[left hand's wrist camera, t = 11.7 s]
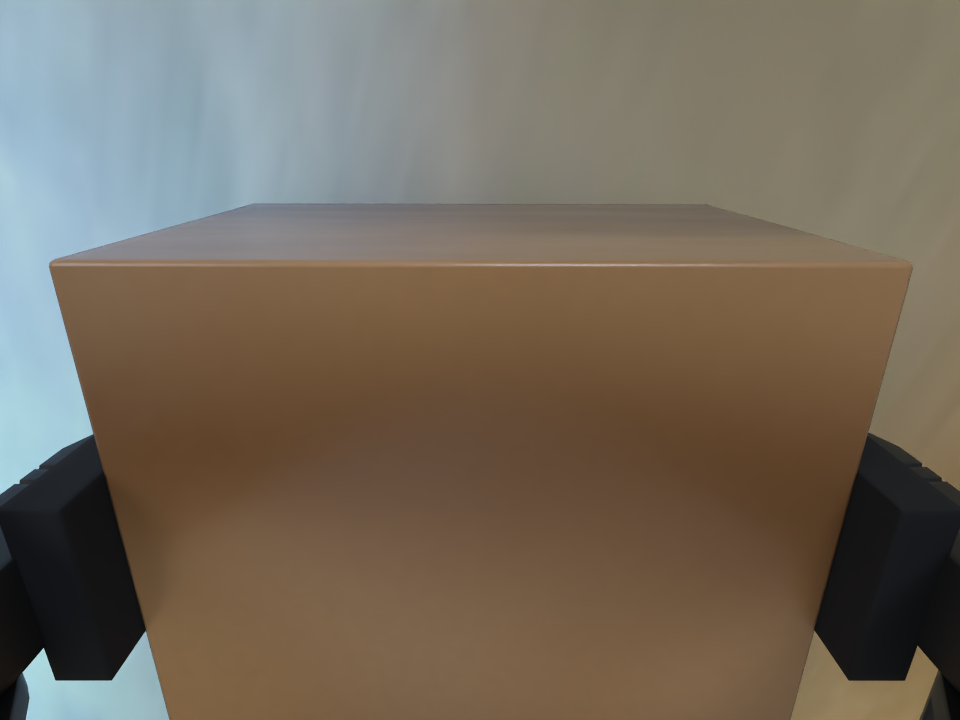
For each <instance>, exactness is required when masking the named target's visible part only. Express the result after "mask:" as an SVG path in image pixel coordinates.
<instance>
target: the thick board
mask: <svg viewBox="0 0 960 720" xmlns="http://www.w3.org/2000/svg"><path fill="white" fill-rule="evenodd" d="M49 268H50V272H51V276H52V279H53V283H54V287H55V291H56V295H57V298H58V302H59V306H60V310H61V313H62V317H63V321H64V325H65V328H66V332H67V336H68V340H69V343H70V347H71V351H72V355H73V358H74V362H75V366H76V370H77V373H78V377H79V381H80V385H81V388H82V392H83V396H84V400H85V404H86V407H87V411H88V415H89V419H90V422H91V426H92V430H93V434H94V437H95V441H96V445H97V449H98V452H99V456H100V460H101V464H102V467H103V471H104V475H105V479H106V482H107V486H108V490H109V494H110V497H111V501H112V505H113V509H114V513H115V516H116V520H117V524H118V528H119V531H120V535H121V539H122V543H123V546H124V550H125V554H126V558H127V561H128V565H129V569H130V573H131V576H132V580H133V584H134V588H135V591H136V595H137V599H138V603H139V606H140V610H141V614H142V618H143V622H144V625H145V629H146V633H147V637H148V640H149V644H150V648H151V652H152V655H153V659H154V663H155V667H156V670H157V674H158V678H159V682H160V685H161V689H162V693H163V697H164V700H165V704H166V708H167V712H168V715H169V719H170V720H790V718H791V715H792V711H793V707H794V703H795V700H796V696H797V692H798V689H799V685H800V681H801V678H802V674H803V670H804V667H805V663H806V659H807V656H808V652H809V648H810V645H811V641H812V637H813V634H814V630H815V626H816V623H817V619H818V615H819V611H820V608H821V604H822V600H823V597H824V593H825V589H826V586H827V582H828V578H829V575H830V571H831V567H832V564H833V560H834V556H835V553H836V549H837V545H838V542H839V538H840V534H841V531H842V527H843V523H844V519H845V516H846V512H847V508H848V505H849V501H850V497H851V494H852V490H853V486H854V483H855V479H856V475H857V472H858V468H859V464H860V461H861V457H862V453H863V450H864V446H865V442H866V438H867V435H868V431H869V427H870V424H871V420H872V416H873V413H874V409H875V405H876V402H877V398H878V394H879V391H880V387H881V383H882V380H883V376H884V372H885V369H886V365H887V361H888V358H889V354H890V350H891V346H892V343H893V339H894V335H895V332H896V328H897V324H898V321H899V317H900V313H901V310H902V306H903V302H904V299H905V295H906V291H907V288H908V284H909V280H910V277H911V273H912V269H913V268H912V264H911V263H910V262H908V261H905V260H901V259H898V258H894V257H891V256H887V255H884V254H880V253H877V252H873V251H870V250H866V249H863V248H859V247H855V246H852V245H848V244H845V243H841V242H838V241H834V240H831V239H827V238H824V237H820V236H816V235H813V234H809V233H806V232H802V231H799V230H795V229H792V228H788V227H785V226H781V225H777V224H774V223H770V222H767V221H763V220H760V219H756V218H753V217H749V216H746V215H742V214H739V213H735V212H731V211H728V210H724V209H721V208H717V207H714V206H710V205H700V204H251V205H247V206H244V207H240V208H237V209H233V210H229V211H226V212H222V213H219V214H215V215H212V216H208V217H204V218H201V219H197V220H194V221H190V222H187V223H183V224H179V225H176V226H172V227H169V228H165V229H162V230H158V231H154V232H151V233H147V234H144V235H140V236H137V237H133V238H129V239H126V240H122V241H119V242H115V243H112V244H108V245H104V246H101V247H97V248H94V249H90V250H86V251H83V252H79V253H76V254H72V255H69V256H65V257H61V258H58V259H55V260H53V261H51V262H50V264H49Z"/></svg>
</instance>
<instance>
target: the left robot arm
mask: <svg viewBox="0 0 960 720" xmlns="http://www.w3.org/2000/svg"><path fill="white" fill-rule="evenodd" d="M941 479H942V478H941V477H939V476H938V475H937V474H935V473H934V472H933V471H931V470H930V469H928V468H927V467H922V463H920V462H919V461H918V460H916V459H915V458H914V457H912V456H911V455H909V454H908V453H907V452H905V451H904V450H903V449H901V448H900V447H898V446H896V445H894V444H892V443H890V442H888V441H885V440H883V439H881V438H879V437H877V436H875V435H872V434H870V433H868V435H867V438H866V442H865V446H864V450H863V453H862V457H861V461H860V464H859V468H858V472H857V475H856V479H855V483H854V486H853V490H852V494H851V497H850V501H849V505H848V508H847V512H846V516H845V519H844V523H843V527H842V531H841V534H840V538H839V542H838V545H837V549H836V553H835V556H834V560H833V564H832V567H831V571H830V575H829V578H828V582H827V586H826V589H825V593H824V597H823V600H822V604H821V608H820V611H819V615H818V619H817V623H816V626H815V632H816V633H817V634H818V636H819V637H820V639H821V640H822V642H823V643H824V645H825V646H826V648H827V649H828V651H829V652H830V654H831V655H832V657H833V658H834V659H835V661H836V662H837V664H838V665H839V667H840V668H841V670H842V671H843V673H844V674H845V676H846V677H847V679H848V680H849V681H905V679H906V676H907V673H908V671H909V668H910V665H911V662H912V659H913V657H914V654H915V651H916V648H917V646H919V647H920V649H921V650H922V651H923V652H924V653H925V654H926V656H927V657H928V658H929V659H930V660H931V661H932V663H933V664H934V665H935V666H936V667H937V668H938V669H939V670H938V673H937V675H936V678H935V681H934V683H933V686H932V689H931V691H930V694H929V696H928V699H927V702H926V704H925V707H924V709H923V712H922V715H921V717H920V720H960V491H958V490H957V489H956V488H954V487H953V486H952V485H950V484H949V483H948V482H942V480H941ZM145 631H146V629H145V625H144V622H143V618H142V614H141V610H140V606H139V603H138V599H137V595H136V591H135V588H134V584H133V580H132V576H131V573H130V569H129V565H128V561H127V558H126V554H125V550H124V546H123V543H122V539H121V535H120V531H119V528H118V524H117V520H116V516H115V513H114V509H113V505H112V501H111V497H110V494H109V490H108V486H107V482H106V479H105V475H104V471H103V467H102V464H101V460H100V456H99V452H98V449H97V445H96V441H95V437H94V434H93V435H91V436H89V437H86V438H84V439H82V440H80V441H78V442H76V443H74V444H71V445H69V446H67V447H65V448H63V449H61V450H60V451H59V452H57V453H56V454H55V455H53V456H52V457H51V458H49V459H48V460H47V461H45V462H44V463H43V464H41V465H40V466H39V469H34V470H33V471H32V472H30V473H29V474H28V475H26V476H25V477H24V478H22V479H21V480H20V483H19V484H14V485H13V486H11V487H10V488H9V489H7V490H6V491H5V492H3V493H2V494H1V495H0V720H26V714H27V709H28V703H29V693H28V686H27V683H26V681H25V678H24V675H23V673H22V672H23V671H24V670H25V669H26V668H27V667H28V665H29V664H30V663H31V662H32V661H33V660H34V658H35V657H36V656H37V655H38V654H39V653H40V651H41V650H42V649H43V648H44V649H45V652H46V655H47V658H48V661H49V663H50V666H51V669H52V672H53V674H54V677H55V680H112V679H113V678H114V676H115V675H116V673H117V672H118V670H119V669H120V667H121V666H122V665H123V663H124V662H125V660H126V659H127V657H128V656H129V654H130V653H131V651H132V650H133V648H134V647H135V645H136V644H137V642H138V641H139V640H140V638H141V637H142V635H143V634H144V632H145Z"/></svg>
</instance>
